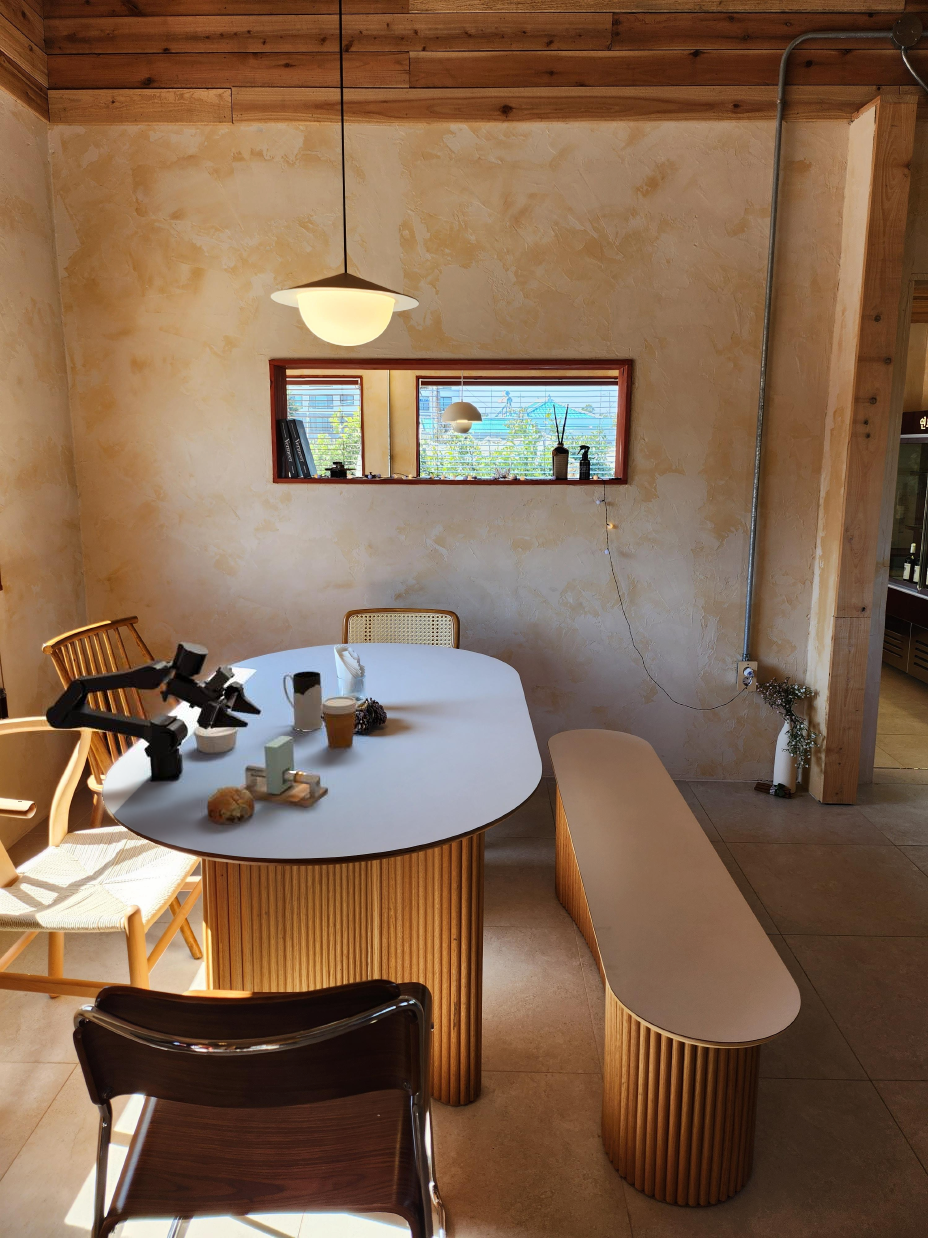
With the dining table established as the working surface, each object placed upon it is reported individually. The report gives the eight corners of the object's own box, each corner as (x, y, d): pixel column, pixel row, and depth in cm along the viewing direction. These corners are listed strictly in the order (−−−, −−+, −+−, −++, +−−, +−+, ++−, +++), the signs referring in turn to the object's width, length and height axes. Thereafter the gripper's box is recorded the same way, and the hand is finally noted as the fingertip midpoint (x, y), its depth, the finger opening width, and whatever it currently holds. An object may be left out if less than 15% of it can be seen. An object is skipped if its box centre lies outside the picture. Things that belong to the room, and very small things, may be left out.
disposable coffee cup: (324, 752, 215) (323, 708, 212) (320, 740, 224) (319, 697, 221) (361, 749, 217) (360, 705, 215) (355, 737, 226) (354, 694, 224)
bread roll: (258, 824, 182) (259, 786, 184) (247, 824, 172) (249, 784, 174) (212, 824, 182) (214, 787, 184) (199, 824, 172) (202, 785, 174)
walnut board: (233, 795, 188) (233, 790, 188) (256, 781, 196) (255, 776, 196) (308, 807, 182) (308, 802, 181) (328, 791, 190) (327, 787, 190)
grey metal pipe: (245, 786, 190) (244, 767, 189) (251, 782, 193) (250, 763, 192) (315, 797, 184) (314, 777, 184) (321, 793, 187) (320, 773, 186)
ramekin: (226, 756, 212) (225, 737, 211) (186, 753, 214) (185, 734, 213) (246, 742, 223) (245, 723, 221) (208, 739, 225) (206, 720, 224)
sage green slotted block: (266, 792, 186) (264, 745, 184) (283, 781, 192) (281, 735, 190) (278, 794, 185) (276, 747, 183) (294, 782, 191) (292, 737, 189)
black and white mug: (307, 733, 229) (305, 680, 226) (273, 723, 238) (271, 672, 235) (330, 725, 236) (329, 674, 233) (297, 715, 244) (295, 666, 241)
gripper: (188, 671, 183) (253, 700, 183) (219, 651, 202) (278, 678, 202) (171, 715, 186) (235, 744, 186) (204, 691, 204) (262, 717, 204)
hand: (254, 719), depth 194 cm, fingers open, 9 cm apart
